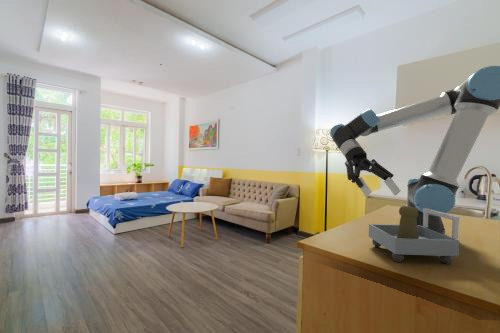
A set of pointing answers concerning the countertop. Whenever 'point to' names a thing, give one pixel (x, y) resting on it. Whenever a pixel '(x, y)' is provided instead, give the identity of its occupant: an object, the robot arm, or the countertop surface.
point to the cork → (408, 223)
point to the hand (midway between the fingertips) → (383, 193)
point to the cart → (426, 243)
